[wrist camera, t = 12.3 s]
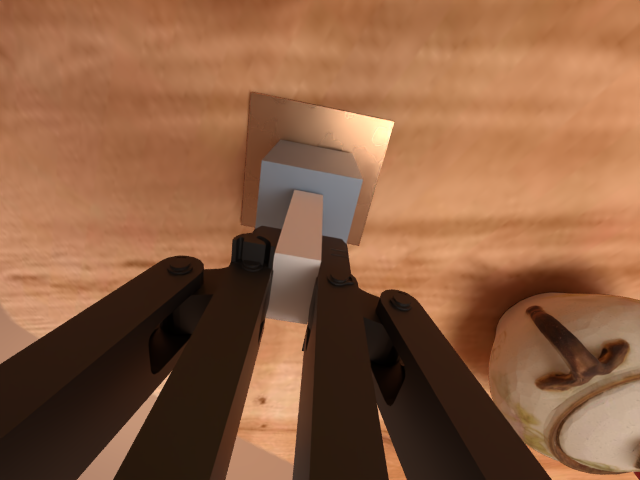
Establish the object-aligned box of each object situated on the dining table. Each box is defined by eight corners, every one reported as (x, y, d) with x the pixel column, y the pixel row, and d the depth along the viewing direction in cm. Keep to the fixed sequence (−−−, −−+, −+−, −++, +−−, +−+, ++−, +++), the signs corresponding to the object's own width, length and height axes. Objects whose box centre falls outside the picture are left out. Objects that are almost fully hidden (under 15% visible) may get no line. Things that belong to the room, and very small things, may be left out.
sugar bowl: (418, 306, 29) (499, 496, 15) (574, 207, 24) (889, 358, 11) (515, 403, 35) (633, 598, 22) (654, 341, 30) (915, 541, 17)
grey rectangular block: (280, 139, 21) (261, 160, 15) (352, 153, 21) (362, 179, 15) (272, 207, 23) (253, 249, 17) (337, 219, 24) (341, 264, 18)
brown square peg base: (252, 91, 20) (220, 93, 14) (392, 121, 21) (420, 134, 15) (242, 222, 25) (214, 266, 19) (358, 243, 26) (368, 292, 19)
